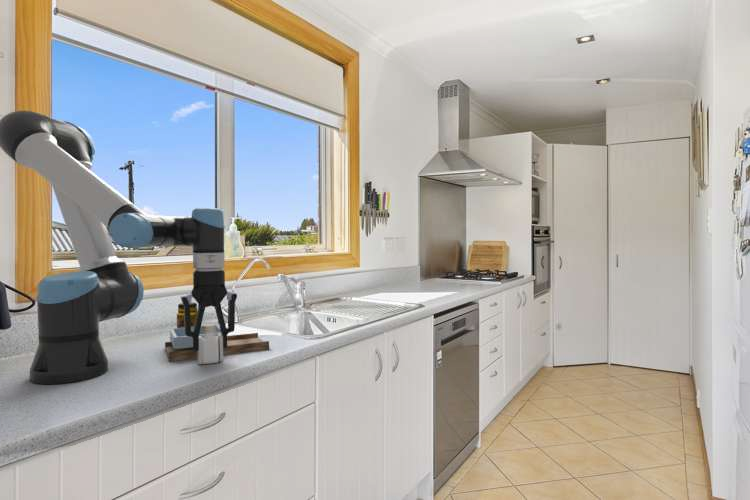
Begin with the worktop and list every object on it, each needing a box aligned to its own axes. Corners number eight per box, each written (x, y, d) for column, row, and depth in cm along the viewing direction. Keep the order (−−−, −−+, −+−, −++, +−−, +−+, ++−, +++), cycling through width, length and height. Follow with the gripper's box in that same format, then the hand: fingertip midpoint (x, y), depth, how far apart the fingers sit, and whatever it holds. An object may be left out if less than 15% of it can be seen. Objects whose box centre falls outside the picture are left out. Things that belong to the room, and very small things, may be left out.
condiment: (174, 346, 133) (173, 305, 132) (177, 340, 141) (177, 301, 140) (200, 345, 135) (200, 304, 135) (202, 338, 143) (202, 300, 143)
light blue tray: (174, 356, 118) (174, 337, 118) (170, 345, 129) (169, 328, 129) (226, 350, 124) (226, 332, 124) (217, 340, 136) (217, 324, 135)
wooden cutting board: (169, 361, 117) (168, 352, 117) (165, 349, 129) (164, 341, 129) (269, 349, 130) (269, 341, 130) (257, 339, 142) (257, 332, 141)
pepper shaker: (201, 360, 118) (201, 324, 117) (218, 359, 119) (217, 323, 119) (201, 365, 114) (201, 327, 113) (218, 363, 115) (218, 325, 115)
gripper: (173, 272, 108) (174, 370, 109) (247, 269, 116) (248, 360, 117) (170, 270, 114) (172, 362, 115) (240, 267, 123) (241, 353, 123)
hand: (210, 361), depth 116 cm, fingers closed on pepper shaker, 4 cm apart
